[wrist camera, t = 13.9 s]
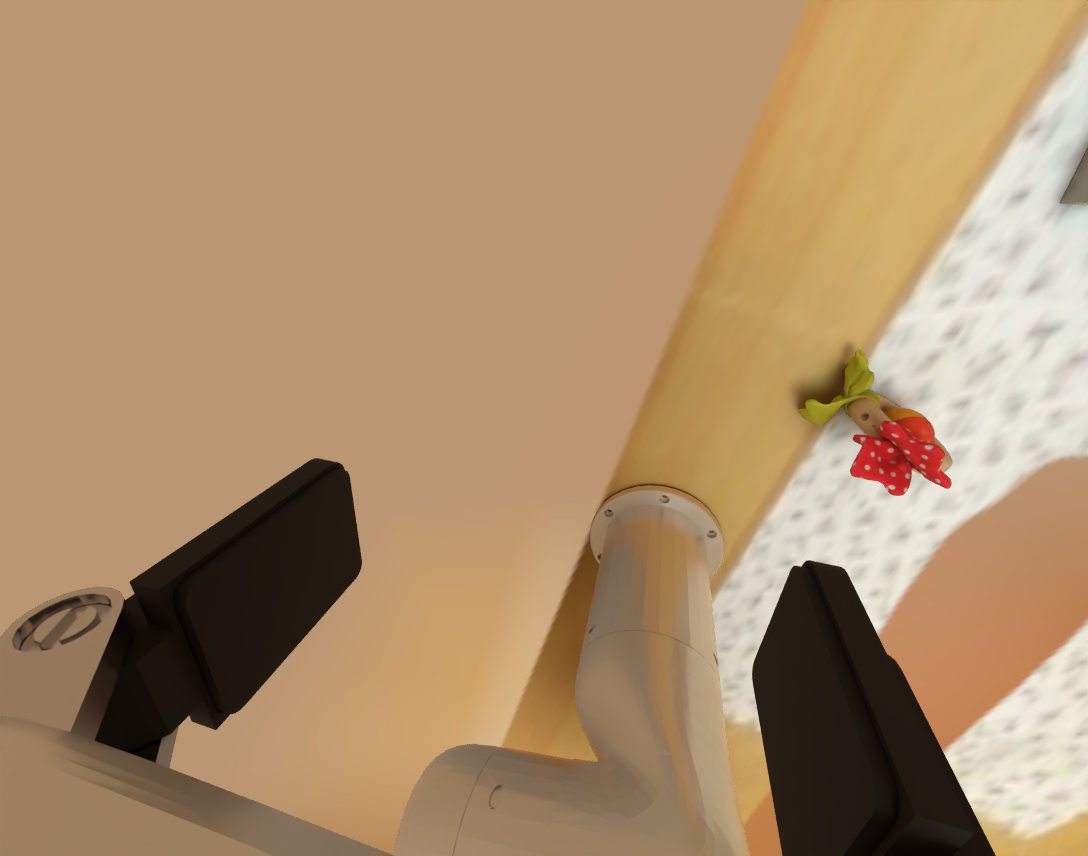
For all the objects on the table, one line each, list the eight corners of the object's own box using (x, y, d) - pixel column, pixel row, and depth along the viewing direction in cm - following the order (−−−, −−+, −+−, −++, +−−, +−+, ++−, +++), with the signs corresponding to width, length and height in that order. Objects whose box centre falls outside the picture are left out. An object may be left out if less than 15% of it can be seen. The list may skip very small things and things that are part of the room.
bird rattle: (911, 370, 35) (827, 332, 32) (1063, 459, 26) (966, 418, 23) (853, 433, 38) (772, 404, 35) (971, 532, 29) (875, 504, 26)
